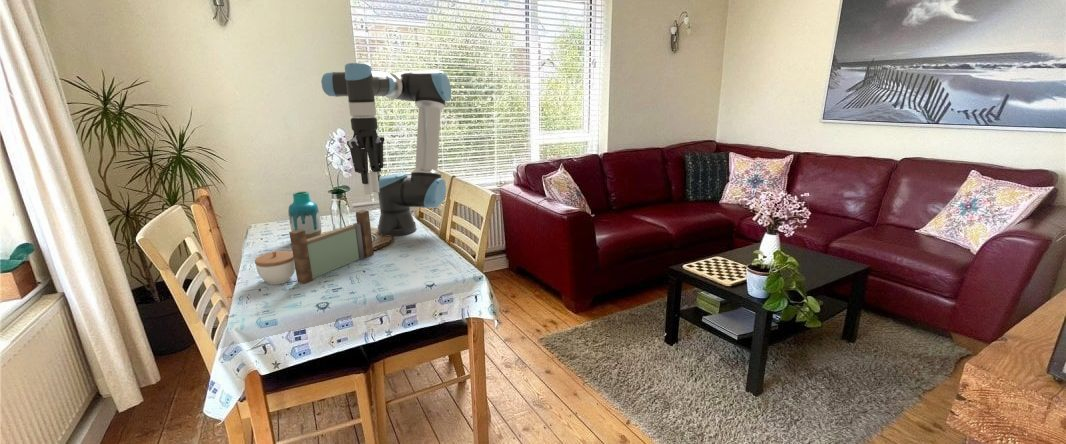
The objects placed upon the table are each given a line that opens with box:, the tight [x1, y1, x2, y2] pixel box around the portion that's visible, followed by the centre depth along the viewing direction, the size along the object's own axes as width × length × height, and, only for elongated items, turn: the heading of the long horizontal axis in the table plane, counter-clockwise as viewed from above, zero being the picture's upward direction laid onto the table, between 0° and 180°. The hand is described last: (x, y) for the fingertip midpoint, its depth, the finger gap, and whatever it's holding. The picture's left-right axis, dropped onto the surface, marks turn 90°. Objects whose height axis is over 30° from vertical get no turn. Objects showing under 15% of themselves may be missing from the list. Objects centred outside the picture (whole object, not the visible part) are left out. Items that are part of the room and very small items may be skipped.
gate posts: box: [288, 209, 375, 285], centre depth 149 cm, size 28×3×16 cm, turn 153°
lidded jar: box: [254, 250, 296, 286], centre depth 140 cm, size 11×11×9 cm
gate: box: [306, 222, 365, 279], centre depth 150 cm, size 21×2×12 cm, turn 153°
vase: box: [288, 190, 322, 239], centre depth 175 cm, size 11×11×19 cm
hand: (372, 192), depth 146 cm, fingers open, 2 cm apart
